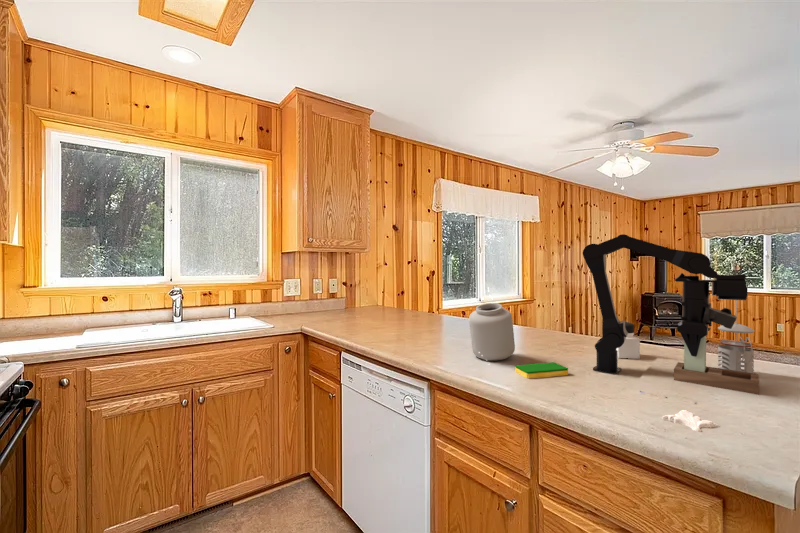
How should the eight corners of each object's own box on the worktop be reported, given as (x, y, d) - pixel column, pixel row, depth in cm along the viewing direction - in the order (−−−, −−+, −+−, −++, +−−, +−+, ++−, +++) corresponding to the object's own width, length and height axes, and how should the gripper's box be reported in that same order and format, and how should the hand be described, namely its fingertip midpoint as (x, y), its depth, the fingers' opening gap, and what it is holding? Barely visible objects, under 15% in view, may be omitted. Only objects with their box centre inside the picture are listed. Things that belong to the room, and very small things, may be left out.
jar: (499, 368, 119) (498, 289, 118) (458, 360, 128) (458, 288, 128) (521, 355, 134) (521, 286, 133) (483, 349, 143) (483, 284, 142)
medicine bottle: (629, 353, 135) (629, 320, 135) (640, 359, 128) (640, 324, 128) (608, 353, 136) (608, 320, 136) (618, 358, 129) (618, 324, 128)
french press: (747, 372, 112) (748, 289, 112) (770, 385, 101) (771, 293, 101) (707, 369, 115) (708, 288, 115) (726, 381, 105) (727, 292, 104)
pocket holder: (759, 398, 92) (759, 382, 91) (673, 383, 103) (673, 369, 103) (758, 389, 98) (758, 374, 98) (678, 375, 110) (678, 362, 110)
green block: (704, 372, 100) (704, 335, 100) (684, 369, 103) (684, 333, 103) (705, 368, 104) (706, 332, 103) (685, 365, 107) (686, 330, 106)
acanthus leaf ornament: (661, 422, 81) (661, 413, 81) (679, 416, 84) (679, 407, 84) (702, 436, 74) (702, 427, 74) (719, 429, 77) (719, 419, 77)
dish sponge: (514, 372, 116) (514, 365, 115) (553, 369, 119) (553, 361, 119) (527, 380, 109) (527, 371, 109) (568, 376, 112) (568, 368, 112)
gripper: (733, 303, 91) (733, 367, 91) (735, 297, 104) (734, 353, 105) (677, 300, 98) (676, 359, 99) (685, 295, 112) (685, 346, 112)
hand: (694, 354), depth 103 cm, fingers closed on green block, 4 cm apart
